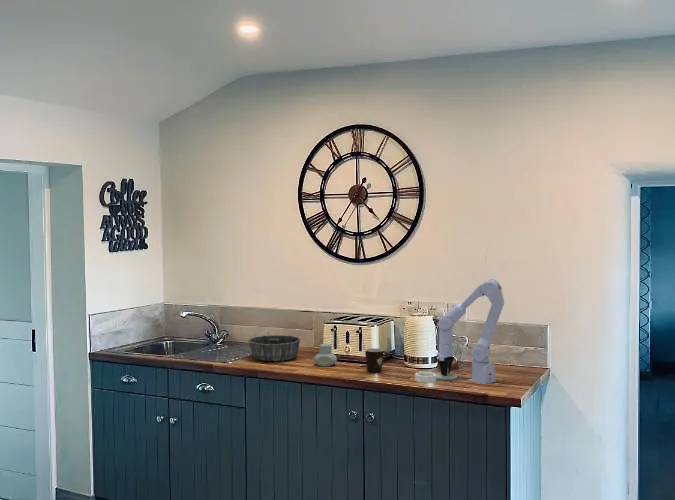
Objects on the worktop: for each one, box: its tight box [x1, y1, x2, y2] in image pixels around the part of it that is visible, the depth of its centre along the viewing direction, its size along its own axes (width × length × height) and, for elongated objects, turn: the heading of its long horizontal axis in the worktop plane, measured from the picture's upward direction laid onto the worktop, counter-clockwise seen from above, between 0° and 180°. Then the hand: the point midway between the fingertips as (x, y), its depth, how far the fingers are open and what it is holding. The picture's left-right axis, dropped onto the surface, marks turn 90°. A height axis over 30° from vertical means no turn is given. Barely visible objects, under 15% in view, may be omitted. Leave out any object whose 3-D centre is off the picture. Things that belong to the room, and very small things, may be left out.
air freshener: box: [313, 343, 338, 368], centre depth 343 cm, size 11×8×10 cm
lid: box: [435, 372, 458, 381], centre depth 314 cm, size 10×10×4 cm
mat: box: [436, 375, 465, 382], centre depth 314 cm, size 12×12×1 cm
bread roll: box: [436, 358, 460, 371], centre depth 334 cm, size 10×10×8 cm
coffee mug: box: [364, 347, 388, 374], centre depth 329 cm, size 12×9×10 cm
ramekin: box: [414, 371, 437, 384], centre depth 308 cm, size 9×9×3 cm
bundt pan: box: [247, 334, 302, 363], centre depth 360 cm, size 26×26×10 cm
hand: (445, 374), depth 314 cm, fingers open, 4 cm apart
